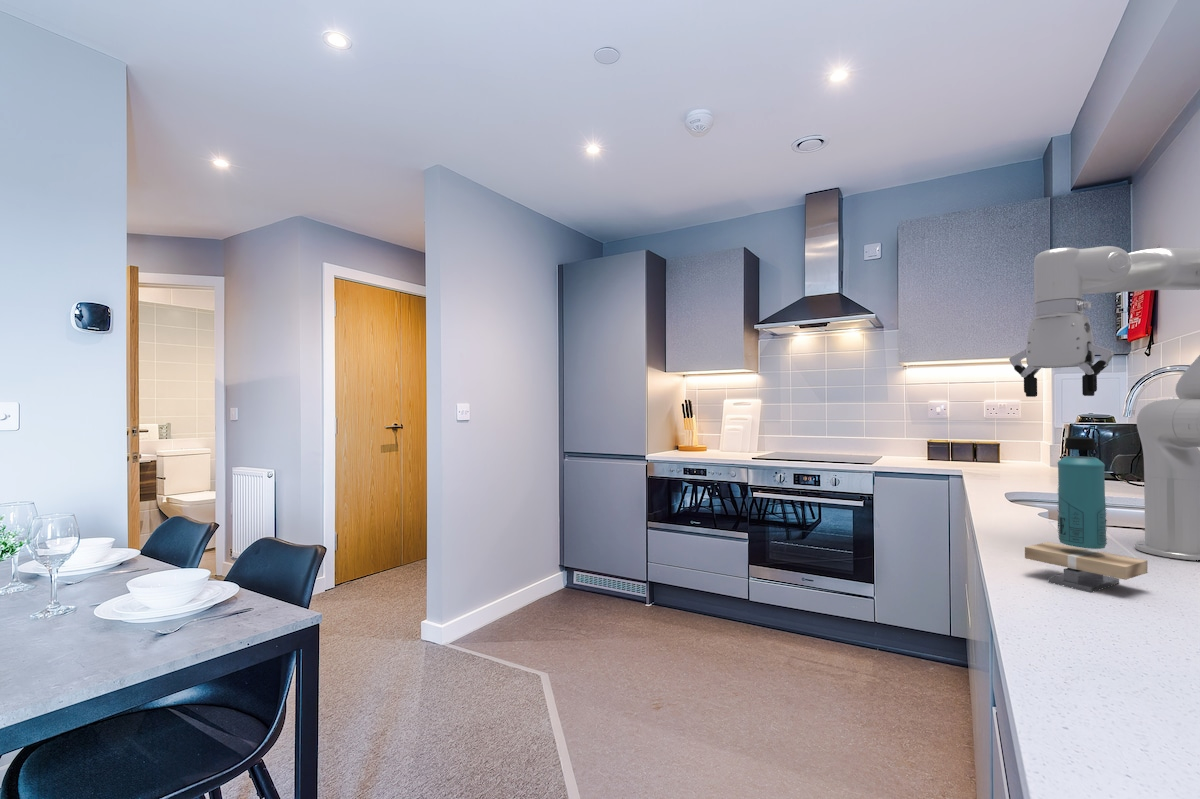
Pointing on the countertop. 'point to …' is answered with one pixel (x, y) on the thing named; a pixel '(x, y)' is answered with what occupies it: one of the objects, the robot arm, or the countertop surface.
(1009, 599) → the countertop surface
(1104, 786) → the countertop surface
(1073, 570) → the fulcrum
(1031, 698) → the countertop surface
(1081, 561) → the beam
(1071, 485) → the beverage bottle
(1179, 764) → the countertop surface
